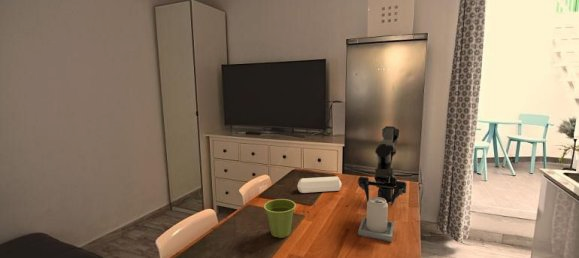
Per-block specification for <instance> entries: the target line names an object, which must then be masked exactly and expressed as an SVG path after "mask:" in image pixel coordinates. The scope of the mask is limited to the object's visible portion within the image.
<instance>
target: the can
mask: <svg viewBox="0 0 579 258" xmlns="http://www.w3.org/2000/svg"><path fill="white" fill-rule="evenodd" d="M388 212H389V205H388V203H387V202H386V200H385V199H384V198H381V197H377V196H373V197H369V201H368V202H367V201H366V217H367V221H366V227H367V228H368V229H369V231H372V232H377V233H384V232H385V231H386V230H387V221H388V216H389V213H388Z"/></svg>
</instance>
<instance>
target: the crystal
mask: <svg viewBox="0 0 579 258" xmlns="http://www.w3.org/2000/svg"><path fill="white" fill-rule="evenodd" d="M341 188H342V181H341V180H340V177H338V176H323V177H322V176H321V177H320V176H319V177H306V178H304V177H302V178H299V180H298V183H297V189H298V192H300V193H301V194H302V193H303V194H306V193H318V192H319V193H320V192H336V191H338V192H339V191H341Z"/></svg>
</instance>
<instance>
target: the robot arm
mask: <svg viewBox="0 0 579 258" xmlns="http://www.w3.org/2000/svg"><path fill="white" fill-rule="evenodd" d="M381 129H382V131H381V137H382V138H383V139H382V140H381V141H379V142H378V145H376V147H375V150H374V151H375V155H376V161H377V164H376V168H375V169H374V180H369V177H368V176H359V177H358V179H357V184H358V187H359V188H361V189H362V190H364V192H365V193H364V194H365V198H366V203H367V202H368V201H369V198H370V186H373V187H374V186H375V187H376V188H378V190H377V195H376V197H381V198H384V199H385V200H386V203H387V202H389V203H390V202H391V204H390V206H391V207H393V206H394V205H395V203H396V201H397V199H398V198H399V196H400V195H403V194H406V193H407V182H406V181H404V180H398V179H397V178H396V177H397V176H395V171H394V168H393V159H394V156H395V155H396V154H397V149H396V147H395V145H397V144H398V143H399V141H398V140H399V139H400V133H401V132H400V131H401V130H400V129H398V128H397V127H395V126H394V125H393V126H392V125H385V126H384V128H381Z"/></svg>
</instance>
